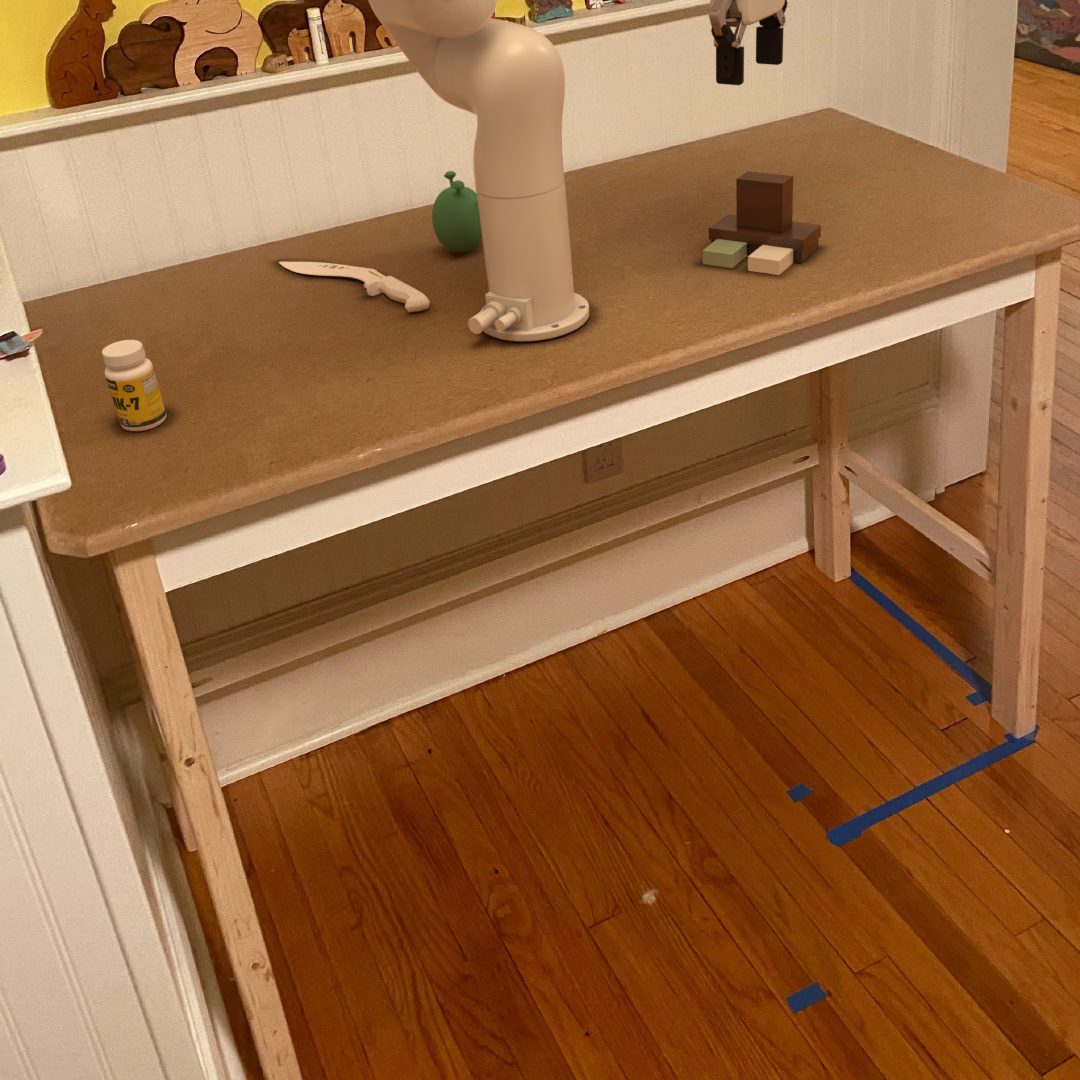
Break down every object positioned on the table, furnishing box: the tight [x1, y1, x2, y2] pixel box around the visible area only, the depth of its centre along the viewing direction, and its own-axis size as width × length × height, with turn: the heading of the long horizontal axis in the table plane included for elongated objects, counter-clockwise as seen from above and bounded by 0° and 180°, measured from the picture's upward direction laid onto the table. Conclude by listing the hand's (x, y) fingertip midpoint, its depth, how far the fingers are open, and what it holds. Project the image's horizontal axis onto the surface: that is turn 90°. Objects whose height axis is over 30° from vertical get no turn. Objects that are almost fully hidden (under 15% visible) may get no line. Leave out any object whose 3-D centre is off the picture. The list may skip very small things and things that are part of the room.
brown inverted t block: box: [708, 170, 822, 264], centre depth 147 cm, size 5×12×9 cm, turn 56°
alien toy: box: [431, 170, 483, 254], centre depth 156 cm, size 7×8×10 cm
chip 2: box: [747, 245, 794, 276], centre depth 144 cm, size 4×4×2 cm
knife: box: [278, 261, 431, 313], centre depth 152 cm, size 30×2×8 cm
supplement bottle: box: [101, 339, 168, 432], centre depth 124 cm, size 5×5×8 cm
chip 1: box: [701, 239, 748, 269], centre depth 147 cm, size 4×4×2 cm
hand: (749, 73), depth 139 cm, fingers open, 9 cm apart
